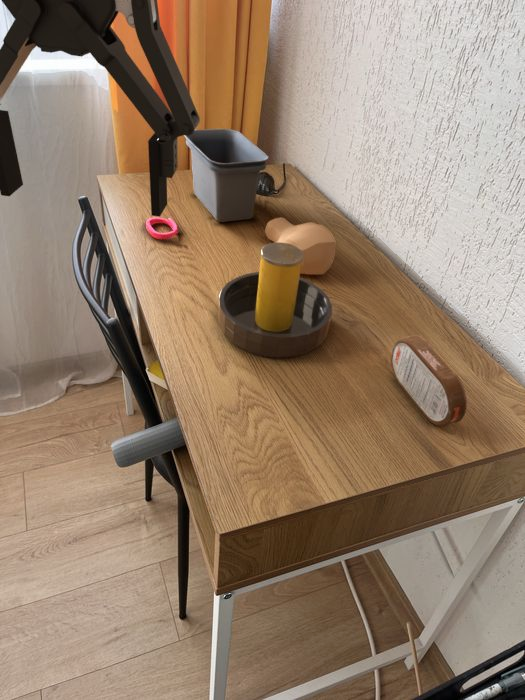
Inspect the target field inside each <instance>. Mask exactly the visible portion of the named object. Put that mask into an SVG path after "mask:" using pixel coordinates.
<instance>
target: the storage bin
mask: <svg viewBox="0 0 525 700" xmlns="http://www.w3.org/2000/svg"><path fill="white" fill-rule="evenodd" d="M183 136H184V137H185V139H186V140H185V145H186V146H187V147H188V148H189V149H190V153H191V169H192V184H193V185H192V186H193V187H192V188H193V194H194V196H195V197H196V198H197V199H198V200H199V201H200V203H202V205H203V206H204V207H205V208H206V210H207V211H208V212H209V213H210V215H211V216H213V218H214V219H215V221H217V222H218V223H227V222H228V223H229V222H235V221H241V220H243V221H244V220H250V219H252V218H253V216H254V209H255V205H256V204H255V203H256V199H257V192H258V185H259V179H260V174H261V171H264V170H265V169H266V168H267V163H266V161H268V160H269V159H270V157H269V155H267V154H266V153H265V152H264V151H263V150H262V149H260V148H259V147H258V145H256V144H254V143H253V142H252V141H251V140H250V139H249V138H247V137H246V136H245V135H244V134H242V133H241V132H240V131H238V130H235V129H230V128H212V129H211V128H210V129H209V128H207V129H195V130H194V132H193V133H192V134H191V135H189V136H186V135H183Z"/></svg>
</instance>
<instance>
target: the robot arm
mask: <svg viewBox="0 0 525 700" xmlns="http://www.w3.org/2000/svg"><path fill="white" fill-rule="evenodd" d="M1 2H2V4H3V5H4V6H5V7H6V9H7V10H8V11H9V13H10V14H11V16H12V17H13V18H14V21H13V22H12V24H11V26H10V27H9V29H8V31H7V33H6V34H5V36H4V37H3V40H2V42H3V44H1V45H2V46H1V47H0V102H1V101H2V99H3V98H4V96H5V94H6V93H7V91H8V89H9V88H10V86H11V84H12V83H13V82H14V80H15V79H16V77H17V75H18V74H19V72H20V70H21V69H22V67H23V66H24V64H25V62H26V61H27V59H28V58H29V56H30V55H31V54H32V51H33V50H34V49H35V48H36V47H37V48H38V49H40V52H42V53H57V52H63V53H65V54H67V55H70V56H72V57H73V56H74V57H84V56H85V55H88V54H90V55H91V56H92V58H93V59H94V60H95V61H96V62H97V64H99V66H101V67H103V68H105V70H106V71H107V72H108V74H109V75H110V77H112V79H113V80H114V82H115V83H116V84H117V85H118V87H119V88H120V89H121V91H122V92H123V93H124V94H125V96H126V97H127V98H128V100H129V101H130V103H132V105H133V106H134V108H135V109H136V110H137V112H138V113H139V114H140V115H141V117H142V118H143V119H144V120H145V122H146V123H147V125H148V126H149V127H150V128H151V130H152V131H153V134H152V135H151V136H150V138H148V140H147V144H148V145H147V147H148V148H147V149H148V169H149V189H150V190H149V191H150V212H151V217H158V218H161V215H162V214H163V212H164V211H165V209H166V207H167V206H168V179H173V177H174V175H175V174H176V172H177V169H178V167H179V166H178V165H179V162H178V158H179V157H178V138H179V137H183V136H184V135H186V136H189V135H191V134H192V133H193V132H194V130H197V128H198V126H199V124H200V122H201V119H200V115H199V113H198V110H197V109H196V106H195V104H194V101H193V99H192V96H191V95H190V91H189V89H188V87H187V86H186V82H185V80H184V78H183V75H182V74H181V70H180V69H179V66H178V64H177V62H176V59H175V57H174V55H173V52H172V50H171V47H170V45H169V43H168V40H167V38H166V36H165V34H164V31H163V29H162V26H161V21H160V20H161V19H160V13H159V5H158V0H1ZM119 13H121V14H122V15H123V16H124V18H125V21H126V23H127V24H128V26H129V27H131V28H133V29H134V30H135V33H136V38H137V40H138V42H139V44H140V47H141V48H142V51H143V54H144V56H145V58H146V60H147V62H148V64H149V67H150V69H151V71H152V73H153V75H154V77H155V80H156V82H157V84H158V86H159V88H160V90H161V93H162V95H163V97H164V99H165V101H166V104H167V105H166V104H165V102H164V101H163V99H162V98H161V97H160V95H159V94H158V92H157V91H156V90H155V89H154V88H153V86H152V85H151V83H150V82H149V80H148V79H147V78H146V76H145V75H144V73H142V71H141V69H140V68H139V67H138V65H137V64H136V63H135V62H134V60H133V59H132V57H131V56H130V54H128V52H127V50H126V46H125V44H124V42H123V41H122V40H121V38H120V37H119V35H118V34H117V33H116V32H115V31H114V29H113V27H111V26H112V25H113V24H114V21H115V20H116V18H117V16H118V14H119ZM1 105H2V104H1V103H0V106H1ZM11 123H12V122H11V118H10V115H9V110H4V109H3V110H2V109H0V196H3V197H11V196H12V195H13V194H14V193H15V192H16V191H18V190H19V189H20V188H21V187H23V185H24V181H23V178H22V172H21V167H20V162H19V157H18V153H17V147H16V143H15V138H14V133H13V128H12V124H11Z"/></svg>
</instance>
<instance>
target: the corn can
mask: <svg viewBox="0 0 525 700" xmlns="http://www.w3.org/2000/svg"><path fill="white" fill-rule="evenodd" d="M260 250H261V251H260V262H259V271H258V272H259V281H258V291H257V301H256V311H255V322H256V324H257V325H258V326H259V327H260V328H262V329H264V330H266V331H270V332H282V331H285V330H287V329H289V328H290V327H291V325H292V322H293V315H294V309H295V303H296V297H297V291H298V284H299V278H300V277H301V274H300V272H301V266H302V260H303V252H302V251H301V250H300V249H299V248H298V247H296V246H294V245H291V244H288V243H281V242H276V243H275V242H270V243H267V244H265V245H264V246H262V248H261V249H260Z"/></svg>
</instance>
